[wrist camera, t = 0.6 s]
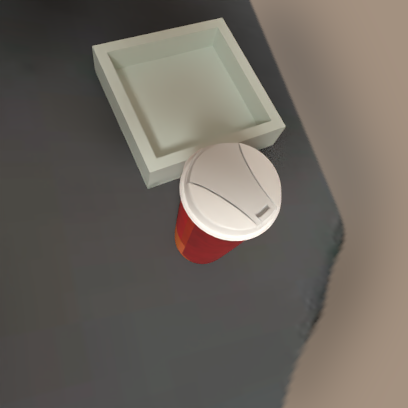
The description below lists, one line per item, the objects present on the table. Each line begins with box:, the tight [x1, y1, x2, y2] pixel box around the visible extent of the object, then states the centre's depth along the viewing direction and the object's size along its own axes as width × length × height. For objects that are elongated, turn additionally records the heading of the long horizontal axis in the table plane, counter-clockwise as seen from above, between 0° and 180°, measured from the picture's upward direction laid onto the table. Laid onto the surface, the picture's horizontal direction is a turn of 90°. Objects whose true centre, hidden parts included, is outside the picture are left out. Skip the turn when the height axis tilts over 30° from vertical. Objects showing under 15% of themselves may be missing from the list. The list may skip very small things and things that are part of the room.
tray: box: [92, 18, 286, 189], centre depth 43 cm, size 16×16×4 cm
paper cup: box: [175, 143, 281, 264], centre depth 33 cm, size 8×8×14 cm
